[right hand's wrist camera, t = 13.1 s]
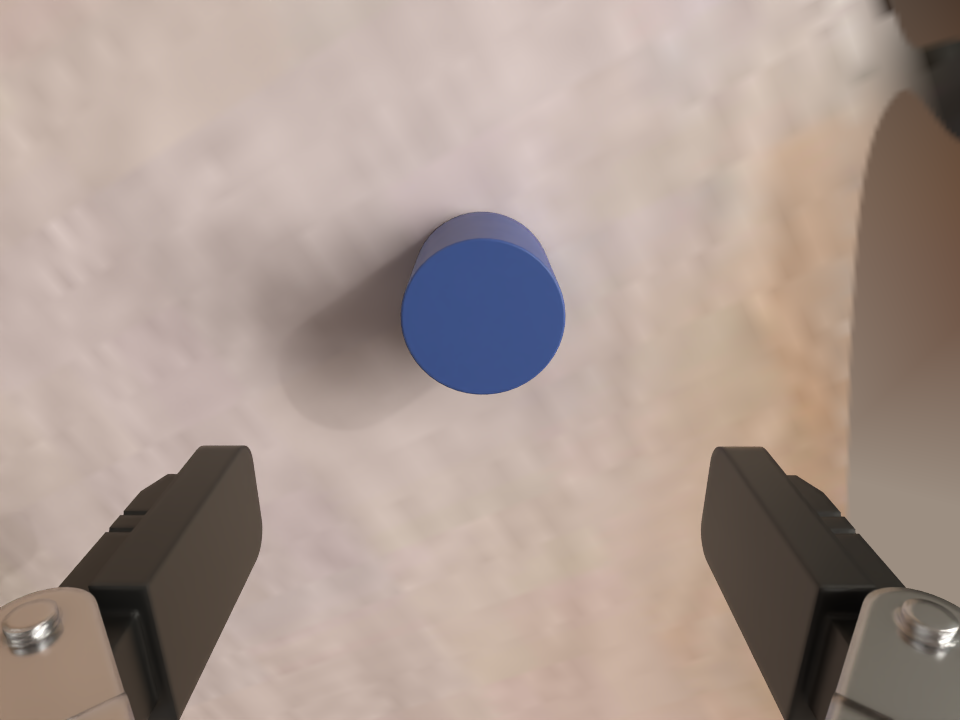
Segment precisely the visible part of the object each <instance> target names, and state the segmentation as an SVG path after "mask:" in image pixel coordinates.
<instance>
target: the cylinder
mask: <svg viewBox="0 0 960 720" xmlns="http://www.w3.org/2000/svg"><path fill="white" fill-rule="evenodd" d="M401 327H402V332H403V336H404V339H405V343H406V345H407V347H408V349H409V351H410V353H411V355H412V357H413V358H414V360H415V361H416V362H417V364H418V365H419V366H420V367H421V368H422V369H423V370H424V371H425V372H426V373H427V374H428V375H429V376H430V377H432V378H433V379H435V380H436V381H438V382H439V383H441V384H443V385H445V386H447V387H449V388H452V389H454V390H457V391H461V392H465V393H470V394H496V393H501V392H505V391H509V390H511V389H514V388H517V387H519V386H521V385H523V384H525V383H527V382H528V381H530V380H531V379H532V378H534V377H535V376H536V375H538V374H539V373H540V372H541V371H542V370H543V369H544V368H545V367H546V366H547V365H548V363H549V362H550V361H551V359H552V358H553V356H554V355H555V353H556V351H557V349H558V347H559V345H560V342H561V339H562V336H563V332H564V327H565V304H564V300H563V295H562V292H561V290H560V287H559V284H558V282H557V280H556V277H555V275H554V273H553V270H552V268H551V266H550V263H549V261H548V259H547V256H546V254H545V251H544V250H543V248H542V246H541V244H540V243H539V241H538V240H537V238H536V237H535V236H534V235H533V234H532V233H531V232H530V231H529V230H528V229H527V228H526V227H525V226H523V225H522V224H521V223H519V222H517V221H516V220H514V219H512V218H509V217H507V216H504V215H500V214H497V213H490V212H474V213H468V214H464V215H460V216H458V217H455V218H453V219H451V220H449V221H447V222H445V223H444V224H442V225H441V226H440V227H438V228H437V229H436V230H435V231H434V232H433V233H432V234H431V235H430V236H429V238H428V239H427V240H426V241H425V243H424V245H423V246H422V248H421V250H420V252H419V255H418V257H417V260H416V263H415V265H414V268H413V271H412V274H411V276H410V279H409V282H408V285H407V287H406V290H405V293H404V296H403V301H402V306H401Z"/></svg>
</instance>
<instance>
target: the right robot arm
mask: <svg viewBox="0 0 960 720" xmlns="http://www.w3.org/2000/svg"><path fill="white" fill-rule="evenodd" d="M701 539H702V546H703V551H704V555H705V558H706V560H707V562H708V565H709V567H710V569H711V571H712V573H713V575H714V577H715V579H716V581H717V583H718V585H719V587H720V589H721V591H722V593H723V595H724V597H725V599H726V601H727V603H728V605H729V607H730V610H731V612H732V614H733V616H734V618H735V620H736V622H737V624H738V626H739V628H740V630H741V632H742V634H743V636H744V638H745V640H746V642H747V644H748V646H749V648H750V650H751V652H752V655H753V657H754V659H755V661H756V663H757V665H758V667H759V669H760V671H761V673H762V675H763V677H764V679H765V681H766V683H767V685H768V687H769V689H770V691H771V693H772V695H773V697H774V700H775V702H776V704H777V706H778V708H779V710H780V712H781V714H782V716H783V718H784V720H960V608H959V607H958V606H956V605H954V604H952V603H950V602H948V601H946V600H944V599H942V598H940V597H937V596H935V595H932V594H929V593H926V592H922V591H918V590H914V589H909V588H906V587H905V586H904V585H903V584H902V583H901V582H900V580H899V579H898V578H897V577H896V576H895V575H894V573H893V572H892V571H891V570H890V569H889V568H888V567H887V565H886V564H885V563H884V562H883V561H882V560H881V559H880V557H879V556H878V555H877V554H876V553H875V552H874V550H873V549H872V548H871V547H870V546H869V545H868V544H867V542H866V541H865V540H864V539H863V538H862V537H861V535H860V534H856V533H855V529H854V527H853V526H852V525H851V524H850V523H849V522H848V520H847V519H846V518H845V517H841V512H840V511H839V510H838V509H837V508H836V507H835V505H834V504H833V503H832V502H831V501H830V500H829V499H828V497H827V496H826V495H825V494H824V493H823V492H822V491H820V490H818V489H817V488H815V487H814V486H812V485H810V484H809V483H807V482H806V481H804V480H803V479H801V478H799V477H798V476H796V475H786V474H785V473H784V471H783V470H782V469H781V468H780V466H779V465H778V464H777V463H776V462H775V460H774V459H773V458H772V457H771V455H770V454H769V453H768V452H767V450H766V449H765V448H763V447H717V448H715V450H714V451H713V454H712V457H711V462H710V468H709V475H708V482H707V489H706V495H705V502H704V509H703V515H702V523H701ZM261 540H262V519H261V512H260V505H259V498H258V491H257V485H256V478H255V471H254V464H253V458H252V454H251V451H250V449H249V448H248V447H247V446H201V447H199V448H198V449H197V450H196V452H195V453H194V454H193V455H192V457H191V458H190V459H189V460H188V462H187V463H186V464H185V465H184V467H183V468H182V469H181V470H180V472H179V473H178V474H167V475H166V476H164V477H163V478H161V479H160V480H158V481H156V482H155V483H153V484H152V485H150V486H148V487H147V488H145V489H144V490H142V491H141V492H140V493H139V494H138V495H137V496H136V498H135V499H134V500H133V501H132V502H131V503H130V505H129V506H128V507H127V508H126V509H125V510H124V515H120V516H119V517H118V518H117V520H116V521H115V522H114V523H113V524H112V525H111V527H110V528H109V532H105V534H104V535H103V536H102V537H101V538H100V539H99V541H98V542H97V543H96V544H95V545H94V546H93V548H92V549H91V550H90V551H89V552H88V553H87V555H86V556H85V557H84V558H83V559H82V560H81V562H80V563H79V564H78V565H77V566H76V567H75V568H74V570H73V571H72V572H71V573H70V574H69V575H68V577H67V578H66V579H65V580H64V581H63V582H62V584H61V585H60V586H59V587H58V588H51V589H46V590H41V591H38V592H34V593H31V594H28V595H25V596H23V597H20V598H18V599H16V600H14V601H12V602H10V603H8V604H6V605H4V606H2V607H1V608H0V720H179V719H180V717H181V715H182V713H183V711H184V709H185V707H186V705H187V703H188V701H189V699H190V697H191V694H192V692H193V690H194V688H195V686H196V684H197V682H198V680H199V678H200V676H201V674H202V672H203V670H204V668H205V666H206V663H207V661H208V659H209V657H210V655H211V653H212V651H213V649H214V647H215V645H216V643H217V641H218V639H219V637H220V634H221V632H222V630H223V628H224V626H225V624H226V622H227V620H228V618H229V616H230V614H231V612H232V610H233V608H234V605H235V603H236V601H237V599H238V597H239V595H240V593H241V591H242V589H243V587H244V585H245V583H246V581H247V579H248V576H249V574H250V572H251V570H252V568H253V566H254V564H255V562H256V560H257V557H258V555H259V551H260V547H261Z"/></svg>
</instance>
